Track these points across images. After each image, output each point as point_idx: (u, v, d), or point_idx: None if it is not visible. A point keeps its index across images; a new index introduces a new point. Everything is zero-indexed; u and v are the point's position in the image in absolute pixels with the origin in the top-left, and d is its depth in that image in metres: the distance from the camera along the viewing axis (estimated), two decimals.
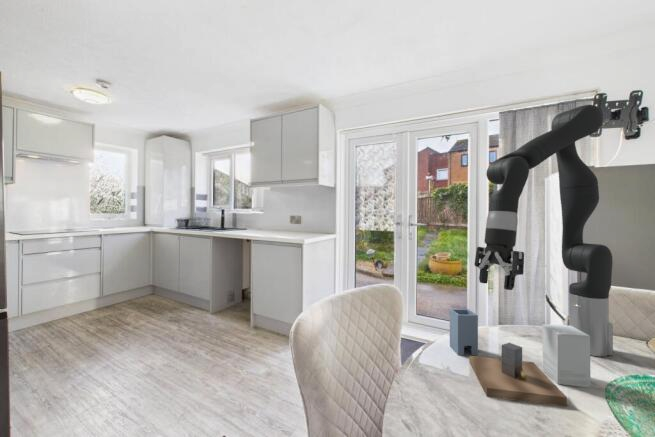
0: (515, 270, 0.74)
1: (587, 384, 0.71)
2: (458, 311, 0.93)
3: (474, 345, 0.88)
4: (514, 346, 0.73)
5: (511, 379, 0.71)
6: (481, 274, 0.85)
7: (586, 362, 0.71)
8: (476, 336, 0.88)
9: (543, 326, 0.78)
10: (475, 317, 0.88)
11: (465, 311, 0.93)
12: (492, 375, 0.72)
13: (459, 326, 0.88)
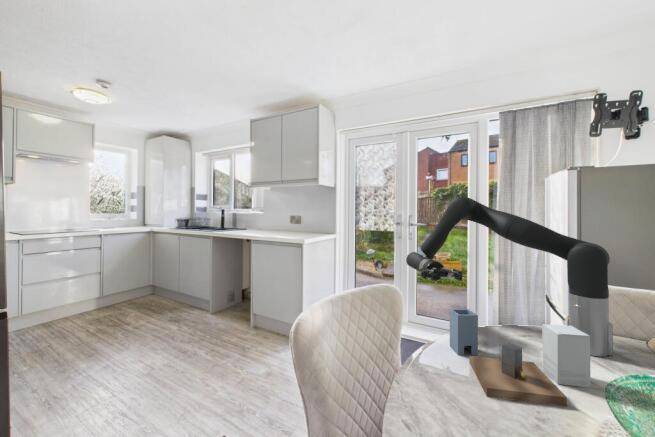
0: (423, 277, 1.06)
1: (587, 384, 0.71)
2: (458, 311, 0.93)
3: (474, 345, 0.88)
4: (514, 346, 0.73)
5: (511, 379, 0.71)
6: (457, 279, 1.04)
7: (586, 362, 0.71)
8: (476, 336, 0.88)
9: (543, 326, 0.78)
10: (475, 317, 0.88)
11: (465, 311, 0.93)
12: (492, 375, 0.72)
13: (459, 326, 0.88)
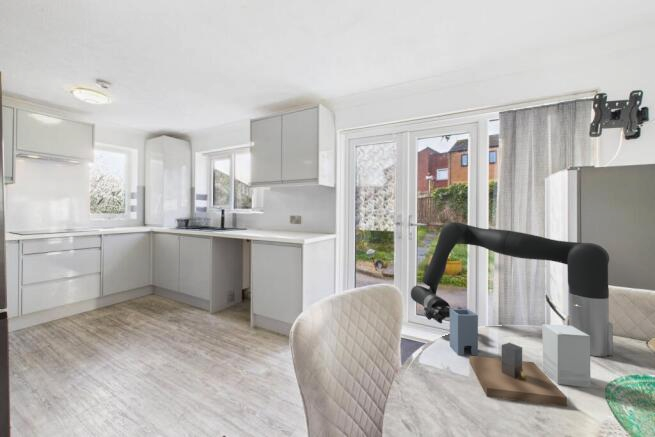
0: None
1: (587, 384, 0.71)
2: (458, 311, 0.93)
3: (474, 345, 0.88)
4: (514, 346, 0.73)
5: (511, 379, 0.71)
6: None
7: (586, 362, 0.71)
8: (476, 336, 0.88)
9: (543, 326, 0.78)
10: (475, 317, 0.88)
11: (465, 311, 0.93)
12: (492, 375, 0.72)
13: (459, 326, 0.88)
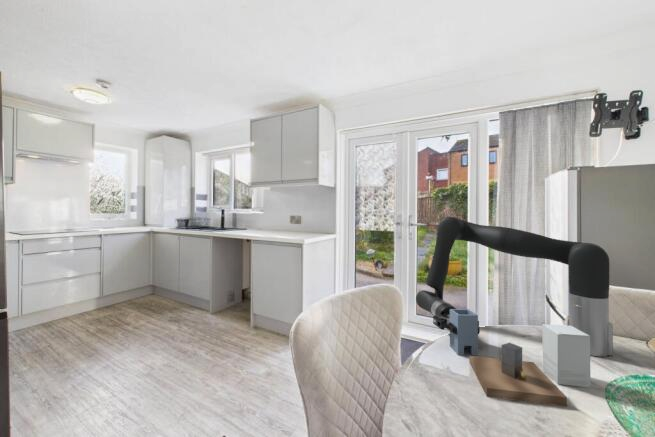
0: None
1: (587, 384, 0.71)
2: (458, 311, 0.93)
3: (474, 345, 0.88)
4: (514, 346, 0.73)
5: (511, 379, 0.71)
6: None
7: (586, 362, 0.71)
8: (476, 336, 0.87)
9: (543, 326, 0.78)
10: (475, 317, 0.88)
11: (465, 311, 0.93)
12: (492, 375, 0.72)
13: (459, 326, 0.88)
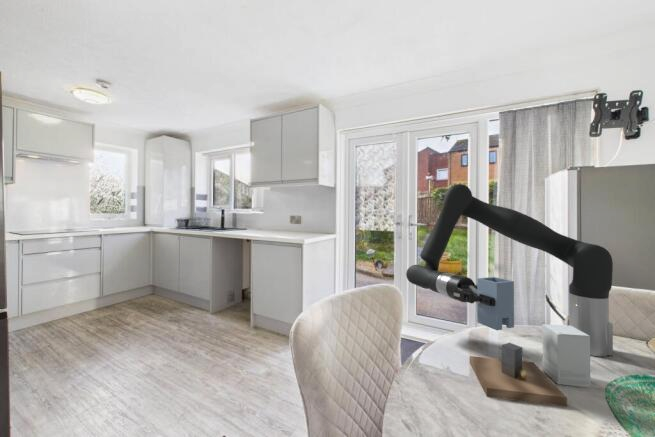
0: (469, 302, 0.78)
1: (587, 384, 0.71)
2: (486, 280, 0.79)
3: (511, 316, 0.75)
4: (514, 346, 0.73)
5: (511, 379, 0.71)
6: None
7: (586, 362, 0.71)
8: (512, 306, 0.75)
9: (543, 326, 0.78)
10: (511, 284, 0.75)
11: (492, 279, 0.80)
12: (492, 375, 0.72)
13: (498, 296, 0.74)
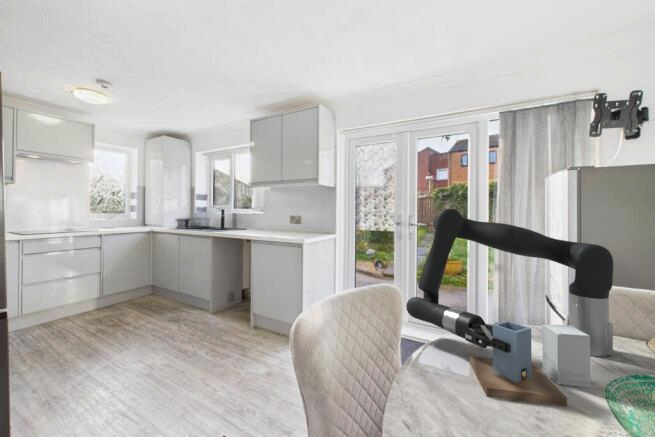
0: (481, 346, 0.73)
1: (587, 384, 0.71)
2: (501, 325, 0.75)
3: (529, 366, 0.71)
4: None
5: None
6: None
7: (586, 362, 0.71)
8: (530, 354, 0.72)
9: (543, 326, 0.78)
10: (529, 331, 0.72)
11: (506, 324, 0.76)
12: (492, 375, 0.72)
13: (517, 346, 0.69)
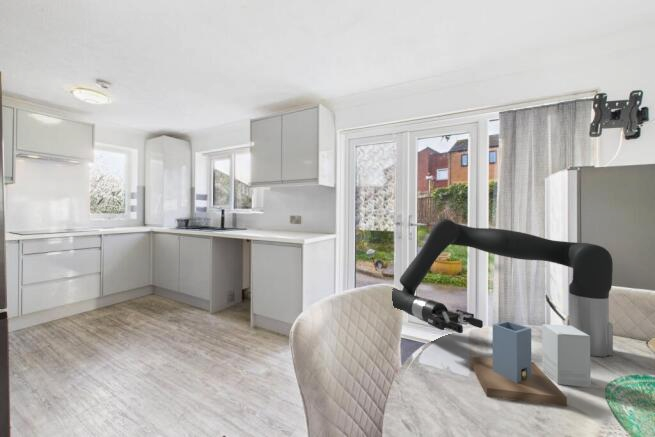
0: (439, 328, 0.85)
1: (587, 384, 0.71)
2: (501, 325, 0.75)
3: (529, 366, 0.71)
4: None
5: None
6: (474, 325, 0.87)
7: (586, 362, 0.71)
8: (530, 354, 0.72)
9: (543, 326, 0.78)
10: (529, 331, 0.72)
11: (506, 324, 0.76)
12: (492, 375, 0.72)
13: (517, 346, 0.69)
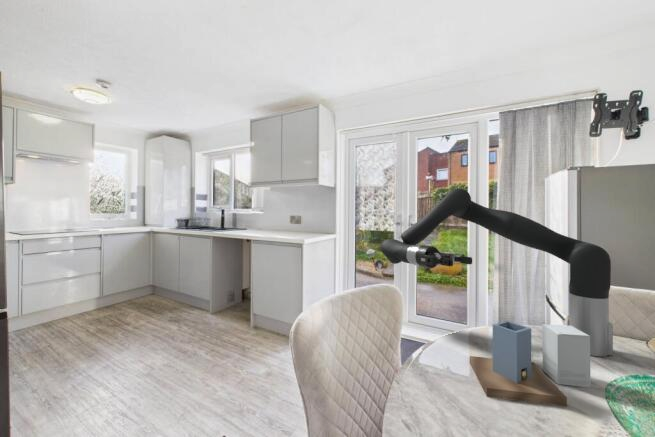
0: (431, 264, 0.90)
1: (587, 384, 0.71)
2: (501, 325, 0.75)
3: (529, 366, 0.71)
4: None
5: None
6: (464, 263, 0.92)
7: (586, 362, 0.71)
8: (530, 354, 0.72)
9: (543, 326, 0.78)
10: (529, 331, 0.72)
11: (506, 324, 0.76)
12: (492, 375, 0.72)
13: (517, 346, 0.69)
